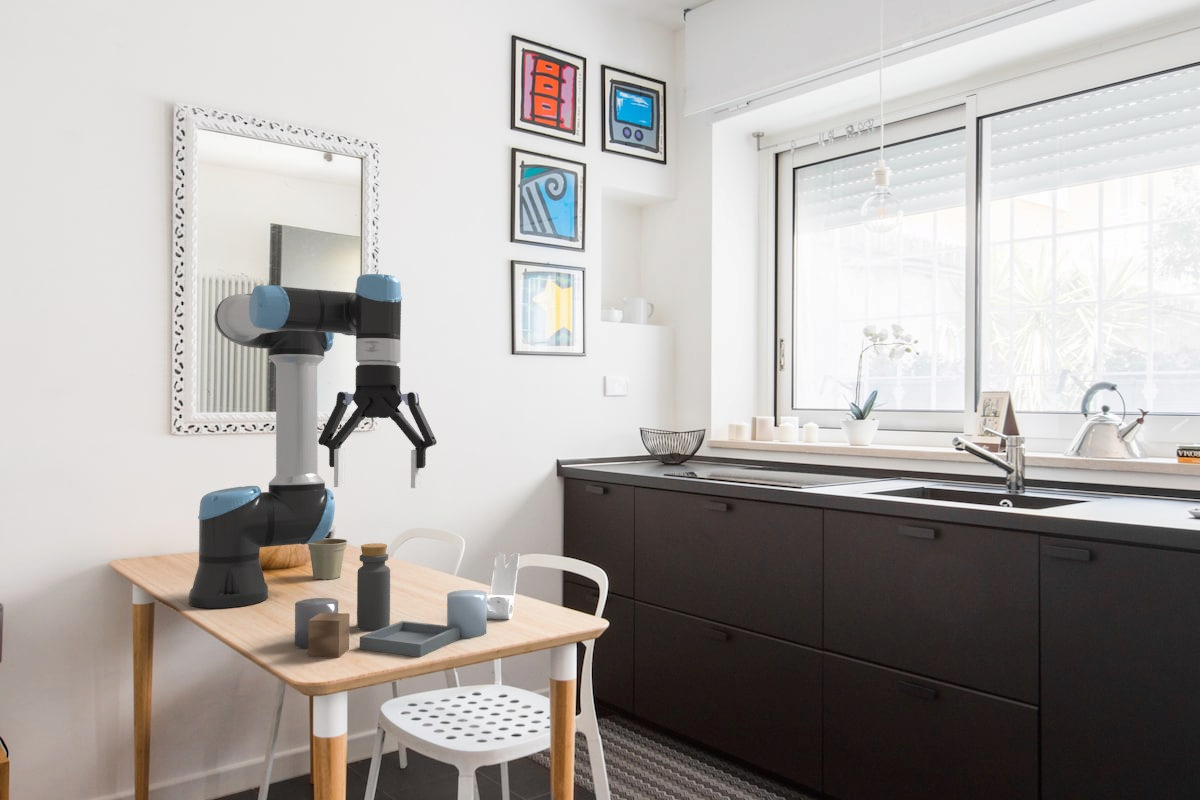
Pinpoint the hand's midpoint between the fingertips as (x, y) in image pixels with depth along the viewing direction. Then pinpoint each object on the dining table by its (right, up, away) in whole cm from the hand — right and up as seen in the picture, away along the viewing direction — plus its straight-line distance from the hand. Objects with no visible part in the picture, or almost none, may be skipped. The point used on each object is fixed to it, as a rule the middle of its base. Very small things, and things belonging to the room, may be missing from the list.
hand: (377, 487), depth 149 cm
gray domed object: (-10, -27, -2) cm, 28 cm away
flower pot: (-26, -27, +55) cm, 67 cm away
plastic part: (+18, -27, +19) cm, 38 cm away
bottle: (-3, -27, +9) cm, 29 cm away
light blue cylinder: (+15, -27, +5) cm, 31 cm away
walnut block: (-6, -27, -8) cm, 28 cm away
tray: (+6, -27, -2) cm, 27 cm away
